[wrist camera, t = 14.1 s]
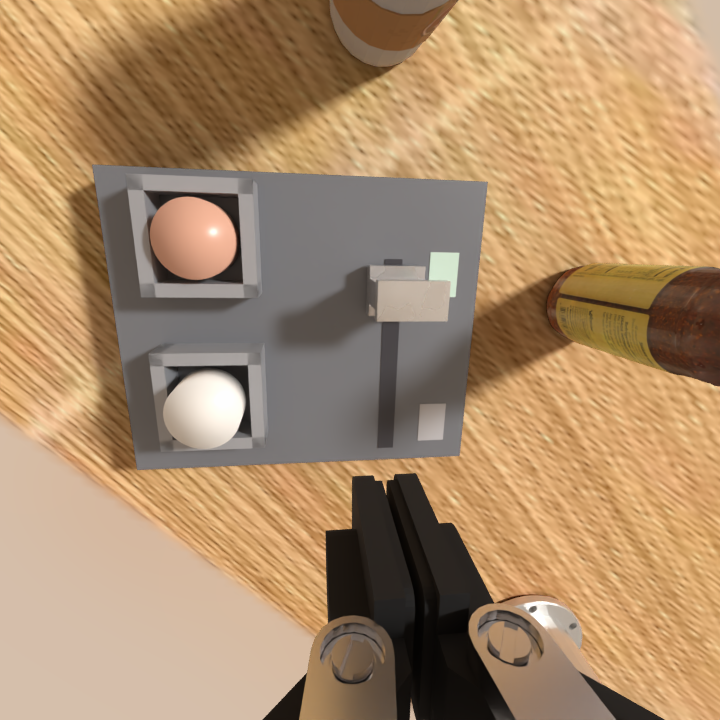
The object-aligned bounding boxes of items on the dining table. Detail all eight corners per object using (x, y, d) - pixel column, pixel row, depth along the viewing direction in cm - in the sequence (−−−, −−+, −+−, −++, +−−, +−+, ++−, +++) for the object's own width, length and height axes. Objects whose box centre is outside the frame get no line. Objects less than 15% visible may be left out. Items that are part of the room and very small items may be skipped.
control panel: (447, 438, 35) (471, 473, 30) (152, 449, 32) (122, 490, 27) (470, 187, 30) (505, 176, 24) (115, 172, 27) (68, 156, 21)
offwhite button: (248, 430, 27) (242, 447, 25) (179, 432, 27) (167, 450, 25) (244, 367, 26) (238, 379, 24) (172, 368, 26) (158, 381, 23)
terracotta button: (242, 276, 26) (235, 280, 24) (168, 275, 25) (155, 279, 23) (237, 201, 25) (231, 198, 22) (160, 199, 24) (145, 195, 22)
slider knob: (420, 312, 28) (446, 330, 23) (363, 312, 28) (376, 330, 23) (423, 265, 28) (451, 272, 22) (364, 264, 27) (378, 271, 22)
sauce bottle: (595, 346, 35) (942, 477, 16) (529, 328, 33) (821, 446, 14) (628, 269, 33) (1060, 313, 14) (561, 247, 32) (935, 263, 13)
